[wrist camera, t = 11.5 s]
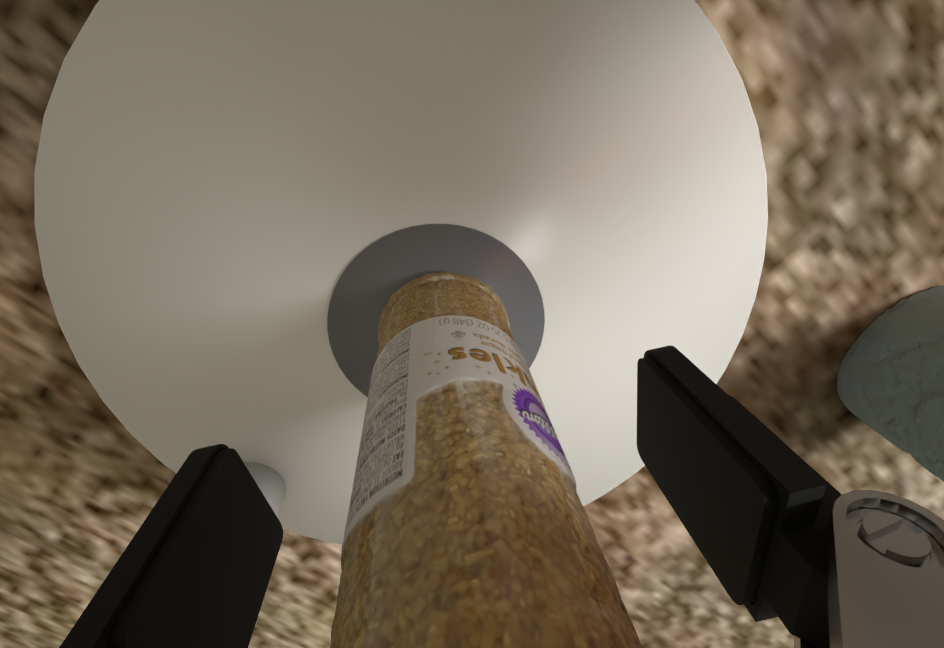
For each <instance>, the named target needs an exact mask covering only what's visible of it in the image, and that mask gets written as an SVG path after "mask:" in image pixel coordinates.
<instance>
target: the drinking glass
mask: <svg viewBox="0 0 944 648" xmlns="http://www.w3.org/2000/svg"><path fill="white" fill-rule="evenodd" d="M837 392H838V395H839V398H840V399H841V401H842V402H843V404H844V405H845V406H846V408H847V409H848V410H850V411H851V412H852V413H853V414H854V415H855V416H857V417H858V418H859V419H861V420H862V421H863V422H865V423H866V424H867V425H868V426H870V427H871V428H872V429H874V430H875V431H876V432H878V433H879V434H880V435H882V436H883V437H884V438H886V439H887V440H888V441H890V442H891V443H892V444H893V445H895V446H896V447H898V448H900V449H901V450H903V451H904V452H907V453H909V454H911V455H912V457H913V458H914V459H915V460H916V461H917V462H918V463H920V464H921V465H922V466H923V467H924V468H926V469H927V470H928V471H930V472H931V473H932V474H934V475H935V476H937V477H939V478H940V479H941V480H943V481H944V286H935V287H933V288H930V289H927V290H924V291H922V292H919V293H916V294H913V295H912V296H910V297H909V298H907V299H902V300H901V301H899V302H898V303H896V304H895V305H894V306H893V307H892V308H891V309H888V310H886V311H885V312H884V313H883V314H882V315H880V316H879V317H877V318H876V320H875V321H874V322H872V323H871V324H870V325H869V326H868V328H867V329H866V330H864V331H863V333H862V334H861V335H860V336H859V337H858V339H857V340H856V341H855V342H854V343H853V344H852V345H851V348H850V350H849V351H848V352H847V353H846V356H845V357H844V359H843V361H842V363H841V366H840V368H839V372H838V377H837Z"/></svg>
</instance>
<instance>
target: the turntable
mask: <svg viewBox="0 0 944 648" xmlns="http://www.w3.org/2000/svg"><path fill="white" fill-rule="evenodd" d="M34 198H35V231H36V237H37V243H38V249H39V255H40V261H41V267H42V273H43V278H44V281H45V284H46V287H47V290H48V293H49V296H50V299H51V302H52V305H53V309H54V312H55V315H56V318H57V321H58V324H59V326H60V328H61V330H62V332H63V334H64V336H65V338H66V340H67V342H68V344H69V346H70V348H71V350H72V352H73V354H74V356H75V358H76V360H77V362H78V364H79V366H80V368H81V369H82V371H83V372H84V374H85V375H86V377H87V378H88V380H89V381H90V383H91V384H92V386H93V387H94V389H95V390H96V392H97V393H98V395H99V396H100V398H101V399H102V401H103V402H104V403H105V405H106V406H107V407H108V408H109V409H110V410H111V412H112V413H113V414H114V415H115V416H116V417H117V419H118V420H119V421H120V422H121V423H122V424H123V426H124V427H125V428H126V429H127V430H128V431H129V432H130V434H131V435H132V436H133V437H134V438H135V439H137V440H138V441H139V442H140V443H141V444H142V445H143V446H144V447H145V448H146V449H147V450H148V451H150V452H151V453H152V454H153V455H154V456H155V457H156V458H157V459H158V460H159V461H160V462H162V463H163V464H164V465H165V466H167V467H168V468H169V469H171V470H172V471H174V472H175V473H176V474H177V472H178V471H179V469H180V468H181V466H182V465H183V463H184V462H185V460H186V459H187V457H188V456H189V454H190V453H191V452H192V451H194V450H196V449H199V448H204V447H208V446H213V445H217V444H225V445H226V446H228V447H229V448H233V449H235V450H236V451H237V452H238V454H239V456H240V457H241V459H242V461H243V462H244V464H245V465H246V467H247V469H248V470H249V472H250V474H251V475H252V477H253V479H254V480H255V482H256V483H257V485H258V487H259V488H260V490H261V492H262V493H263V495H264V496H265V498H266V500H267V501H268V503H269V505H270V506H271V508H272V510H273V511H274V513H275V514H276V516H277V518H278V519H279V521H280V523H281V525H282V529H283V530H286V531H289V532H292V533H295V534H299V535H303V536H307V537H311V538H315V539H319V540H323V541H327V542H332V543H338V544H343V539H344V533H345V528H346V522H347V517H348V511H349V506H350V500H351V495H352V489H353V483H354V476H355V470H356V464H357V459H358V454H359V447H360V441H361V435H362V429H363V423H364V417H365V411H366V405H367V400H368V394H369V388H370V382H371V376H372V372H373V368H374V365H375V363H376V361H377V353H378V349H379V340H378V325H379V320H380V317H381V314H382V311H383V309H384V307H385V306H386V304H387V303H388V301H389V299H390V297H391V295H392V294H394V293H395V292H396V291H397V290H399V289H400V288H401V287H402V286H404V285H406V284H407V283H409V282H410V281H412V280H414V279H417V278H420V277H422V276H424V275H426V274H431V273H441V272H451V273H459V274H462V275H467V276H471V277H473V278H476V279H477V280H479V281H480V282H482V283H484V284H486V285H488V286H489V287H490V288H491V289H492V290H493V291H494V293H496V294H497V296H498V297H499V298H500V299H501V301H502V303H503V305H504V308H505V310H506V312H507V315H508V318H509V324H510V330H511V333H512V336H513V338H514V340H515V343H516V345H517V346H518V348H519V349H520V351H521V353H522V354H523V356H524V358H525V361H526V363H527V365H528V368H529V370H530V373H531V375H532V378H533V380H534V383H535V385H536V387H537V390H538V392H539V395H540V397H541V400H542V402H543V404H544V407H545V409H546V412H547V414H548V416H549V419H550V421H551V423H552V426H553V428H554V431H555V433H556V435H557V438H558V440H559V442H560V445H561V447H562V449H563V452H564V454H565V456H566V459H567V461H568V463H569V466H570V468H571V470H572V473H573V475H574V477H575V481H576V491H577V494H578V496H579V499H580V501H581V503H582V505H583V506H585V505H587V504H589V503H590V502H592V501H594V500H596V499H597V498H599V497H601V496H603V495H604V494H606V493H608V492H609V491H611V490H612V489H614V488H615V487H617V486H618V485H619V484H621V483H622V482H624V481H625V480H627V479H628V478H629V477H631V476H632V475H634V474H635V473H636V472H638V471H639V470H640V469H641V468H642V467H644V466H645V464H644V463H643V461H642V459H641V458H640V455H639V453H638V449H637V363H638V360H639V359H640V358H644V353H645V352H646V351H647V350H651V349H656V348H660V347H665V346H669V345H671V346H674V347H675V348H677V349H678V350H679V351H680V352H681V353H682V354H683V355H684V356H686V357H687V358H688V359H689V360H690V361H691V362H692V363H693V364H694V365H695V366H697V367H698V368H699V369H700V370H701V371H702V372H703V373H704V374H705V375H706V376H708V377H709V378H710V379H711V380H712V381H713V382H714V383H715V384H717V382H718V381H719V379H720V378H721V376H722V375H723V373H724V371H725V370H726V368H727V366H728V364H729V362H730V360H731V358H732V356H733V354H734V352H735V350H736V348H737V346H738V344H739V342H740V340H741V337H742V335H743V332H744V330H745V327H746V324H747V321H748V318H749V316H750V313H751V310H752V307H753V304H754V302H755V298H756V294H757V289H758V285H759V280H760V276H761V272H762V267H763V263H764V256H765V245H766V235H767V224H768V203H767V176H766V168H765V163H764V157H763V152H762V146H761V140H760V135H759V129H758V125H757V122H756V119H755V116H754V113H753V110H752V107H751V104H750V101H749V98H748V95H747V92H746V89H745V86H744V83H743V80H742V78H741V76H740V74H739V72H738V70H737V68H736V66H735V64H734V62H733V60H732V58H731V57H730V55H729V53H728V51H727V49H726V47H725V45H724V43H723V41H722V39H721V37H720V35H719V33H718V31H717V30H716V29H715V27H714V26H713V25H712V23H711V22H710V20H709V19H708V18H707V16H706V15H705V14H704V12H703V11H702V10H701V8H700V7H699V5H698V4H697V3H696V1H695V0H99V2H98V3H97V4H96V5H95V7H94V8H93V10H92V12H91V13H90V15H89V17H88V19H87V20H86V22H85V24H84V25H83V27H82V29H81V31H80V32H79V34H78V36H77V38H76V39H75V41H74V43H73V44H72V46H71V48H70V50H69V51H68V53H67V55H66V56H65V58H64V60H63V63H62V66H61V69H60V71H59V74H58V77H57V80H56V83H55V85H54V88H53V91H52V94H51V97H50V99H49V102H48V105H47V108H46V111H45V113H44V117H43V123H42V129H41V135H40V141H39V147H38V153H37V159H36V165H35V171H34Z"/></svg>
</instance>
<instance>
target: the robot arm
mask: <svg viewBox="0 0 944 648" xmlns="http://www.w3.org/2000/svg"><path fill="white" fill-rule="evenodd" d="M637 449H638V453H639V455H640V458H641V459H642V461H643V463H644V464H645V466H646V467H647V469H648V470H649V472H650V474H651V475H652V477H653V478H654V480H655V481H656V483H657V484H658V486H659V488H660V489H661V491H662V492H663V494H664V495H665V497H666V498H667V500H668V501H669V503H670V505H671V506H672V508H673V509H674V511H675V512H676V514H677V515H678V517H679V519H680V520H681V522H682V523H683V525H684V526H685V528H686V529H687V531H688V532H689V534H690V536H691V537H692V539H693V540H694V542H695V543H696V545H697V546H698V548H699V550H700V551H701V553H702V554H703V556H704V557H705V559H706V560H707V562H708V564H709V565H710V567H711V568H712V570H713V571H714V573H715V574H716V576H717V577H718V579H719V581H720V582H721V584H722V585H723V587H724V588H725V590H726V591H727V593H728V595H729V596H730V597H731V599H732V600H733V601H734V602H735V603H736V604H738V605H743V604H744V605H745V606H746V608H747V609H748V611H749V612H750V614H751V615H752V617H753V618H754V620H755V621H756V622H758V621H762V620H766V619H771V618H775V617H779V618H780V620H781V621H782V622H783V624H784V625H785V627H786V628H787V629H788V631H789V632H790V634H792V635H794V648H944V520H942V519H941V518H940V517H938V516H937V515H935V514H934V513H933V512H931V511H930V510H928V509H926V508H924V507H922V506H920V505H918V504H916V503H914V502H912V501H910V500H907V499H904V498H901V497H899V496H896V495H893V494H890V493H885V492H879V491H873V490H854V491H851V492H848V493H845V494H842V495H841V494H840V493H839V492H838V491H837V490H836V489H835V488H834V487H833V486H831V485H830V484H829V483H828V482H827V481H826V480H825V479H824V478H823V477H821V476H820V475H819V474H818V473H817V472H816V471H815V470H814V469H813V468H811V467H810V466H809V465H808V464H807V463H806V462H805V461H804V460H803V459H801V458H800V457H799V456H798V455H797V454H796V453H795V452H794V451H793V450H791V449H790V448H789V447H788V446H787V445H786V444H785V443H784V442H783V441H781V440H780V439H779V438H778V437H777V436H776V435H775V434H774V433H773V432H771V431H770V430H769V429H768V428H767V427H766V426H765V425H764V424H763V423H761V422H760V421H759V420H758V419H757V418H756V417H755V416H754V415H753V414H751V413H750V412H749V411H748V410H747V409H746V408H745V407H744V406H743V405H741V404H740V403H739V402H738V401H737V400H736V399H734V398H733V397H731V396H730V395H727V394H726V393H725V392H724V391H723V390H722V389H721V388H720V387H719V386H717V385H716V384H715V383H714V382H713V381H712V380H711V379H710V378H709V377H708V376H706V375H705V374H704V373H703V372H702V371H701V370H700V369H699V368H698V367H697V366H695V365H694V364H693V363H692V362H691V361H690V360H689V359H688V358H687V357H686V356H684V355H683V354H682V353H681V352H680V351H679V350H678V349H677V348H675V347H674V346H671V345H669V346H665V347H660V348H656V349H651V350H647V351H646V352H645V353H644V358H640V359H639V360H638V363H637ZM282 538H283V529H282V525H281V523H280V521H279V519H278V518H277V516H276V514H275V513H274V511H273V510H272V508H271V506H270V505H269V503H268V501H267V500H266V498H265V496H264V495H263V493H262V492H261V490H260V488H259V487H258V485H257V483H256V482H255V480H254V479H253V477H252V475H251V474H250V472H249V470H248V469H247V467H246V465H245V464H244V462H243V461H242V459H241V457H240V456H239V454H238V452H237V451H236V450H235V449H233V448H229V447H228V446H226V445H225V444H217V445H213V446H208V447H204V448H199V449H196V450H194V451H192V452H191V453H190V454H189V456H188V457H187V459H186V460H185V462H184V463H183V465H182V466H181V468H180V469H179V471H178V472H177V474H176V475H175V477H174V478H173V480H172V481H171V483H170V484H169V486H168V487H167V488H166V490H165V491H164V493H163V494H162V496H161V497H160V499H159V500H158V502H157V503H156V505H155V506H154V508H153V509H152V511H151V512H150V514H149V515H148V517H147V518H146V520H145V521H144V523H143V524H142V526H141V527H140V529H139V530H138V532H137V533H136V535H135V536H134V538H133V539H132V540H131V542H130V543H129V545H128V546H127V548H126V549H125V551H124V552H123V554H122V555H121V557H120V558H119V560H118V561H117V563H116V564H115V566H114V567H113V569H112V570H111V572H110V573H109V575H108V576H107V578H106V579H105V581H104V582H103V584H102V585H101V587H100V588H99V590H98V591H97V593H96V594H95V595H94V597H93V598H92V600H91V601H90V603H89V604H88V606H87V607H86V609H85V610H84V612H83V613H82V615H81V616H80V618H79V619H78V621H77V622H76V624H75V625H74V627H73V628H72V630H71V631H70V633H69V634H68V636H67V637H66V639H65V640H64V642H63V643H62V645H61V646H60V647H59V648H248V645H249V642H250V639H251V636H252V633H253V630H254V627H255V623H256V620H257V617H258V614H259V611H260V608H261V605H262V602H263V598H264V595H265V592H266V589H267V586H268V583H269V580H270V577H271V573H272V570H273V567H274V564H275V561H276V558H277V555H278V552H279V548H280V545H281V542H282Z"/></svg>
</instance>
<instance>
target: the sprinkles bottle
mask: <svg viewBox="0 0 944 648" xmlns="http://www.w3.org/2000/svg"><path fill="white" fill-rule="evenodd" d="M378 340H379V349H378V353H377V361H376V363H375V365H374V368H373V372H372V376H371V382H370V388H369V394H368V400H367V405H366V411H365V417H364V423H363V429H362V435H361V441H360V447H359V454H358V459H357V464H356V470H355V476H354V483H353V489H352V495H351V500H350V506H349V511H348V517H347V522H346V528H345V533H344V539H343V544H342V553H341V569H342V573H341V578H340V585H339V590H338V597H337V605H336V612H335V616H334V621H333V625H332V631H331V646H330V648H643V647H642V644H641V643H640V641H639V638H638V636H637V633H636V631H635V629H634V626H633V624H632V622H631V620H630V618H629V616H628V613H627V610H626V608H625V606H624V604H623V602H622V600H621V597H620V594H619V591H618V588H617V585H616V582H615V579H614V576H613V574H612V572H611V570H610V568H609V566H608V564H607V562H606V560H605V558H604V556H603V553H602V551H601V548H600V546H599V544H598V542H597V540H596V537H595V534H594V532H593V529H592V527H591V524H590V522H589V519H588V517H587V514H586V512H585V510H584V507H583V505H582V503H581V501H580V499H579V496H578V494H577V491H576V481H575V477H574V475H573V473H572V470H571V468H570V466H569V463H568V461H567V459H566V456H565V454H564V452H563V449H562V447H561V445H560V442H559V440H558V438H557V435H556V433H555V431H554V428H553V426H552V423H551V421H550V419H549V416H548V414H547V412H546V409H545V407H544V404H543V402H542V400H541V397H540V395H539V392H538V390H537V387H536V385H535V383H534V380H533V378H532V375H531V373H530V370H529V368H528V365H527V363H526V361H525V358H524V356H523V354H522V353H521V351H520V349H519V348H518V346H517V345H516V343H515V340H514V338H513V336H512V333H511V330H510V324H509V318H508V315H507V312H506V310H505V308H504V305H503V303H502V301H501V299H500V298H499V297H498V296H497V294H496V293H494V291H493V290H492V289H491V288H490V287H489V286H488V285H486V284H484V283H482V282H480V281H479V280H477V279H476V278H473V277H471V276H467V275H462V274H459V273H451V272H441V273H431V274H426V275H424V276H422V277H420V278H417V279H414V280H412V281H410V282H409V283H407V284H406V285H404V286H402V287H401V288H400V289H399V290H397V291H396V292H395V293H394V294H392V295H391V297H390V299H389V301H388V303H387V304H386V306H385V307H384V309H383V311H382V314H381V317H380V320H379V325H378Z"/></svg>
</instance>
